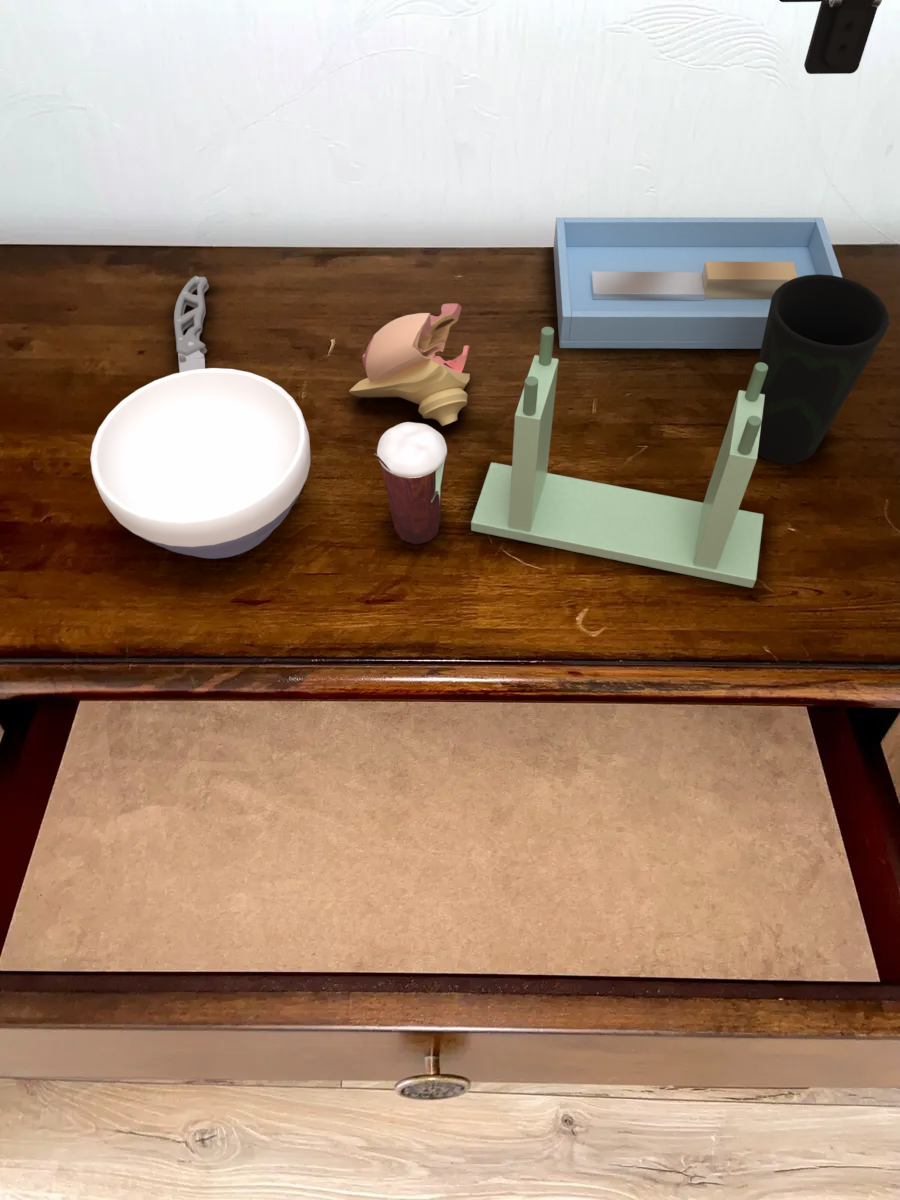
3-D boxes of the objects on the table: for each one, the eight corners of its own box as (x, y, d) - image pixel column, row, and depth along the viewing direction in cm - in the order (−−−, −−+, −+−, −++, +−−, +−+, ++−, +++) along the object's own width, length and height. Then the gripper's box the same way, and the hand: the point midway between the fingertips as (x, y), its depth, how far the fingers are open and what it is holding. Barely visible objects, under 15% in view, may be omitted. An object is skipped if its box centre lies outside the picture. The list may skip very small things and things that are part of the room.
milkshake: (364, 535, 68) (350, 437, 60) (416, 493, 70) (409, 392, 62) (410, 569, 66) (401, 473, 58) (461, 525, 68) (461, 426, 60)
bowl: (263, 620, 64) (241, 552, 58) (82, 558, 67) (43, 487, 61) (354, 470, 72) (343, 396, 65) (188, 421, 75) (162, 345, 68)
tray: (811, 249, 86) (822, 217, 83) (842, 349, 78) (856, 317, 76) (553, 249, 86) (556, 217, 84) (559, 348, 79) (562, 316, 76)
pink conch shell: (506, 412, 75) (463, 403, 67) (400, 455, 79) (345, 452, 71) (471, 303, 76) (423, 279, 67) (366, 351, 80) (308, 335, 71)
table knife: (786, 279, 82) (793, 259, 81) (792, 301, 81) (799, 281, 79) (590, 277, 83) (593, 258, 81) (592, 300, 81) (595, 280, 80)
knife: (219, 423, 75) (180, 429, 74) (209, 285, 84) (175, 289, 84) (214, 409, 73) (175, 414, 73) (205, 270, 83) (171, 274, 83)
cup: (719, 457, 72) (760, 331, 62) (741, 392, 76) (783, 263, 66) (822, 485, 70) (881, 360, 60) (839, 417, 74) (897, 288, 64)
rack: (760, 522, 68) (822, 368, 56) (752, 588, 65) (817, 439, 53) (490, 470, 71) (495, 314, 59) (470, 531, 68) (471, 378, 56)
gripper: (1048, -282, 42) (906, 102, 56) (943, -370, 52) (844, -25, 66) (878, -279, 43) (778, 103, 57) (805, -367, 53) (736, -24, 67)
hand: (814, 34), depth 61 cm, fingers open, 9 cm apart
